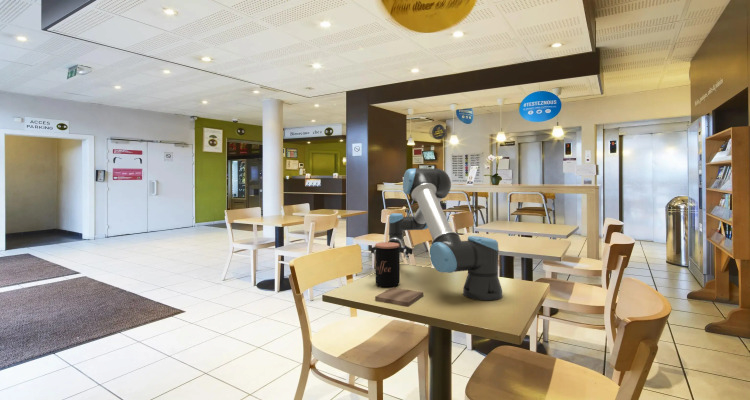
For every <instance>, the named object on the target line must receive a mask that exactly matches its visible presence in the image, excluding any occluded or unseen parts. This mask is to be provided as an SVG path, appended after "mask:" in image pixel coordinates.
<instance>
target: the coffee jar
mask: <svg viewBox="0 0 750 400" xmlns="http://www.w3.org/2000/svg"><path fill="white" fill-rule="evenodd" d="M374 247H376V250H375V257H374V258H375V262H374V263H375V264H374V265H375V266H374V267H375V268H374V269H375V284H376V286H378V287H380V288H385V289H387V288H388V289H390V288H392V287H393V288H397V287H398V286H399V285H400V282H401V281H400V280H401V279H400V275H401V271H400V268H401V267H400V259H401V258H400V257H401V256H400V250H399V244H398V243H393V242H387V241H385V242H383V241H382V242H378V243H375V246H374Z"/></svg>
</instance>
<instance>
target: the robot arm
mask: <svg viewBox="0 0 750 400" xmlns="http://www.w3.org/2000/svg"><path fill="white" fill-rule="evenodd" d="M451 187H452V181H451V178H450V176H449V174H448V173H447V172H446V171H445V170H443V169H441V168H437V167H435V168H425V167H424V168H421V167H420V168H416V167H415V168H408V169H407V170H406V171H405V172H404V174H403V179H402V190H403V192H404V194H405V195H410V196H411V199H412V200H413V201H414V202H417V205H418V208H417V210H416V212H415V213H414V215H413V216H404V214H403V213H401V212H399V213H398V212H397V213H395V212H393V213H390V214H389V216H388V217H389V218H388V229H389V230H388V233H389V234H388V242H393V243H398V244H399V250H400V253H401V254H403V258H404V259H405V258H406V256H408V255H413V248H411V247H409V246H407V245H406V244H405V245H404V231H423V230H427V229H428V231H429V233H430V236H431V238H432V242H431V245H430V248H429V255H430V257H429V258H430V262H431V265H432V266H433V268H434V269H435V270H436V271H437V272H439V273H451V274H452V273H456V272H465V271H467V276H466V279H465V282H464V284H463V287H462V290H463V291H462V294H463V296H464V297H466V298H469V299H472V300H478V301H496V300H500V299H502V298H503V289H502V286H501V282H500V280H499V252H500V249H499V243H498V241H497V240H496V239H493V238H491V237H490V238H489V237H485V236H483V237H482V236H478V235H477V236H476V235H469V236H468V237H467V240H462V239H461V237H460V235H459V234H458V233H457V232H455V231H453V229H452V227H451V225H450V222H449V221H448V218H447V217H446V214H445V212H444V210H443V208H442V205H441V203H440V202H441V201H442V200H443V199H445V198H447V196H448V194H449V193H450V191H451ZM375 250H376V247H375V246H373V247H370V254H373V255H374V256H373V257H374V258H375Z"/></svg>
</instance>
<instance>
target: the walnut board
mask: <svg viewBox="0 0 750 400" xmlns="http://www.w3.org/2000/svg"><path fill="white" fill-rule="evenodd" d="M422 297H424V292H423V291H417V290H411V289H405V288H399V287H392V288H388V289H386V290H385V291H383V292H381V293H379V294H377V295H376V296H374V300H375V301H376V302H382V303H388V304H393V305H397V304H398V305H399V306H403V307H409V306H411V305H413V304H414V303H416V302H417V301H418V300H419V299H421V298H422ZM398 305H397V306H398Z"/></svg>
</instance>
